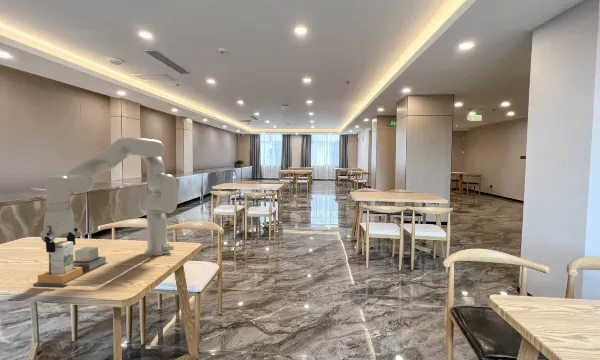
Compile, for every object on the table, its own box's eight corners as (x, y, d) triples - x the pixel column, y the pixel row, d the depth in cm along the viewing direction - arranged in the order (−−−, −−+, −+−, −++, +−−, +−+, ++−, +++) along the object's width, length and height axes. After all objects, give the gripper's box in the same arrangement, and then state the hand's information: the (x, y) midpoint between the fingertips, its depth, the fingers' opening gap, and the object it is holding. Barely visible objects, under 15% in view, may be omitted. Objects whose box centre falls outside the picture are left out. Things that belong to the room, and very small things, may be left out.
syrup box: (59, 275, 124) (58, 240, 123) (74, 275, 124) (73, 240, 124) (48, 280, 118) (47, 244, 118) (64, 280, 119) (63, 244, 118)
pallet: (84, 264, 141) (84, 255, 141) (109, 265, 141) (109, 256, 141) (33, 286, 115) (32, 276, 115) (63, 287, 115) (62, 277, 115)
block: (98, 264, 138) (98, 247, 137) (88, 268, 132) (88, 251, 131) (85, 264, 138) (85, 247, 138) (75, 268, 132) (75, 250, 132)
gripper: (67, 203, 128) (70, 242, 130) (29, 210, 111) (32, 255, 112) (84, 203, 128) (86, 242, 129) (49, 210, 111) (51, 255, 112)
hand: (61, 248), depth 121 cm, fingers open, 9 cm apart
